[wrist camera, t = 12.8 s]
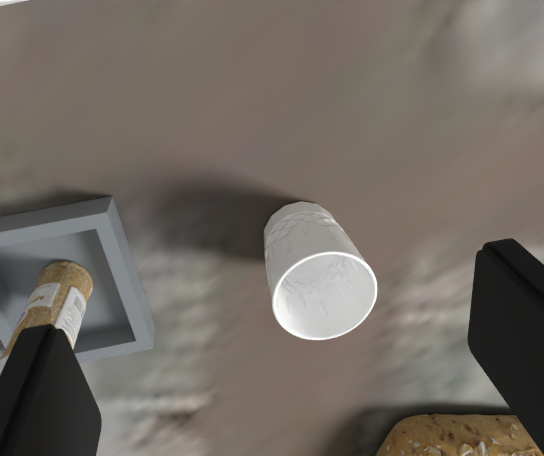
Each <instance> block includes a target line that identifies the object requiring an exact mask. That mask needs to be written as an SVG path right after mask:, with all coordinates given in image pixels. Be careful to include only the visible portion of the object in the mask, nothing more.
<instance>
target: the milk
mask: <svg viewBox="0 0 544 456" xmlns="http://www.w3.org/2000/svg"><path fill="white" fill-rule="evenodd" d="M22 1H27V0H0V6H2V5H7V4H12V3H17V2H22Z"/></svg>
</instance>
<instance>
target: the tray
mask: <svg viewBox="0 0 544 456" xmlns="http://www.w3.org/2000/svg"><path fill="white" fill-rule="evenodd" d="M63 261H68V262H74V263H76V264H78V265H80V266H82V267H83V268H85V269H86V270H87V271H88V272H89V274H90V275H91V277H92V280H93V290H92V293H91V295H90V296H89V297H88V300H87V303H86V309H85V313H84V316H83V319H82V323H81V326H80V329H79V332H78V335H77V339H76V342H75V345H74V349H73V351H74V354H75V356H76V358H77V360H78V363H79V364H80V363H84V362H89V361H94V360H99V359H104V358H109V357H114V356H119V355H123V354H128V353H133V352H138V351H143V350H148V349H153V346H154V337H155V327H156V326H155V323H154V320H153V317H152V314H151V311H150V308H149V305H148V302H147V299H146V296H145V293H144V290H143V287H142V284H141V281H140V278H139V275H138V272H137V269H136V266H135V263H134V259H133V256H132V253H131V250H130V247H129V244H128V241H127V238H126V235H125V232H124V229H123V226H122V223H121V220H120V217H119V214H118V211H117V208H116V205H115V202H114V199H113V196H110V197H105V198H99V199H94V200H89V201H83V202H78V203H72V204H67V205H62V206H56V207H51V208H46V209H40V210H35V211H29V212H24V213H19V214H13V215H8V216H3V217H0V340H1V342H2V344H3V345H4V347H5V349H6V347H7V345H8V343H9V341H10V339H11V337H12V334H13V331H14V329H15V327H16V325H17V323H18V321H19V319H20V317H21V315H22V313H23V311H24V309H25V306H26V304H27V302H28V300H29V298H30V296H31V294H32V293H33V292H34V290H35V287H36V285H37V283H38V279H39V276H40V274H41V272H42V271H43V270H44V269H45V268H46V267H47V266H49V265H50V264H52V263H56V262H63Z"/></svg>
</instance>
